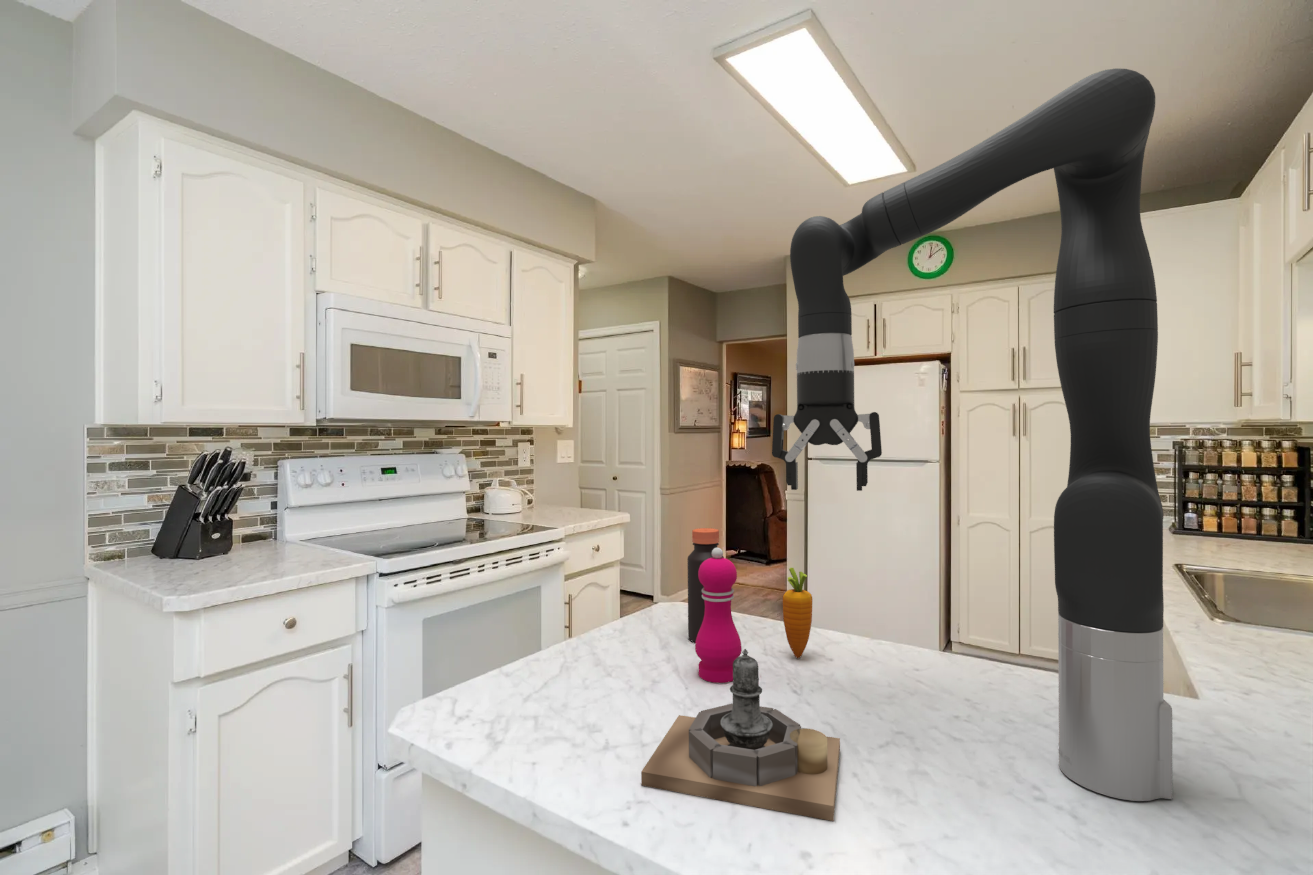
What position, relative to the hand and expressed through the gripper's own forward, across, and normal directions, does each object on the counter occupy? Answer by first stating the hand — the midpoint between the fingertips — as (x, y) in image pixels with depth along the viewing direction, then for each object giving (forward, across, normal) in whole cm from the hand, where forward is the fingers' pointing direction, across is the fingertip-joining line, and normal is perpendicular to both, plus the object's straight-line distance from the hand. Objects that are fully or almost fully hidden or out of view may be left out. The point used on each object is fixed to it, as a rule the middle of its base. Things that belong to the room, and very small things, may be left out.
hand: (826, 489), depth 85 cm
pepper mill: (+30, +17, -7) cm, 35 cm away
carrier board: (+30, +8, +18) cm, 36 cm away
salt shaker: (+29, +8, +18) cm, 35 cm away
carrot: (+30, +6, -18) cm, 36 cm away
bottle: (+30, +23, -23) cm, 44 cm away
